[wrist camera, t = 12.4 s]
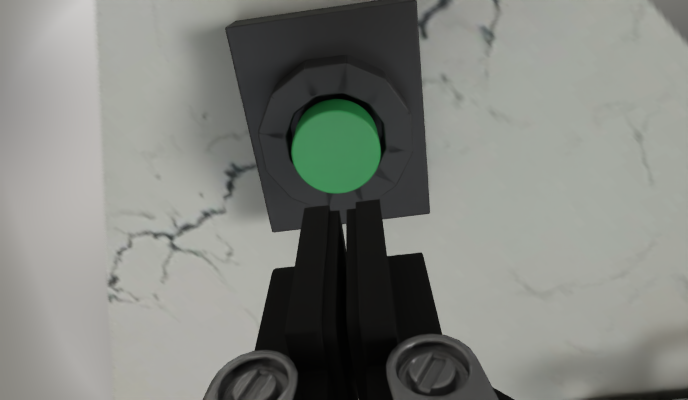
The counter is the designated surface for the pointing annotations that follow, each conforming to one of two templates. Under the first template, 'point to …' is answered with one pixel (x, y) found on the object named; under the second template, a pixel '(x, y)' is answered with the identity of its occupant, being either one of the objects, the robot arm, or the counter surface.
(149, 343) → the counter surface
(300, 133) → the button
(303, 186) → the control block
